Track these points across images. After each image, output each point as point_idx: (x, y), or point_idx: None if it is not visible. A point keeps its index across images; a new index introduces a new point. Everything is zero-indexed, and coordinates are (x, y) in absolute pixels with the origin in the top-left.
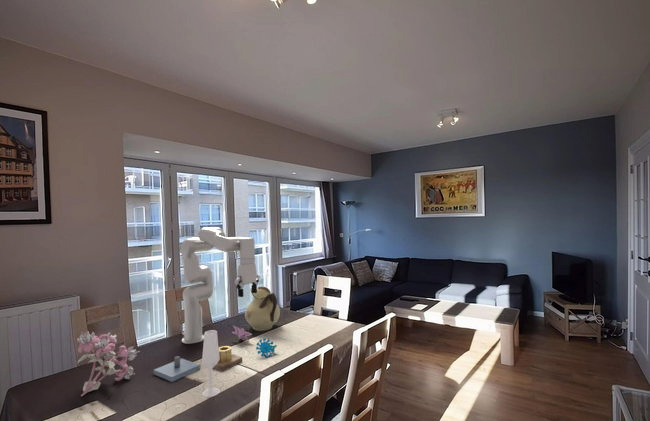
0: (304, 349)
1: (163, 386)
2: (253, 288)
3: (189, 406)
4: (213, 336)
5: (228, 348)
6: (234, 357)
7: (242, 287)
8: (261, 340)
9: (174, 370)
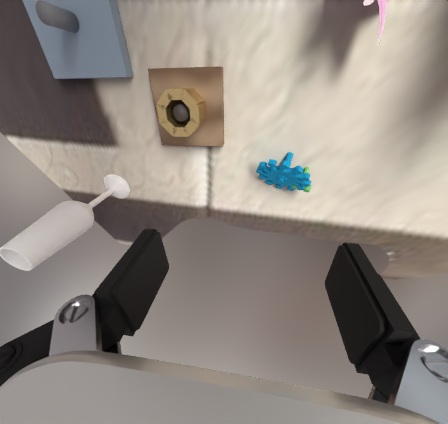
0: (342, 227)
1: (47, 82)
2: (349, 305)
3: (81, 188)
4: (29, 264)
5: (186, 126)
6: (210, 128)
7: (115, 351)
8: (286, 168)
9: (62, 40)
